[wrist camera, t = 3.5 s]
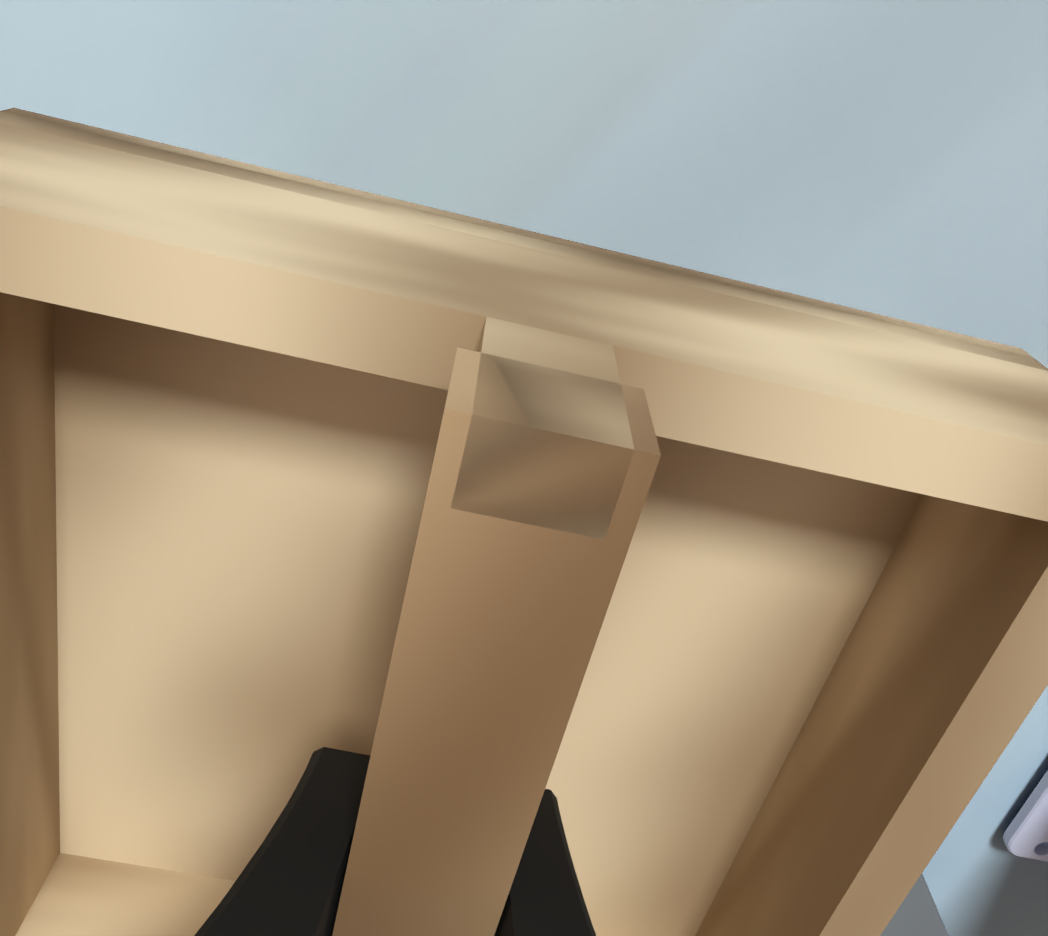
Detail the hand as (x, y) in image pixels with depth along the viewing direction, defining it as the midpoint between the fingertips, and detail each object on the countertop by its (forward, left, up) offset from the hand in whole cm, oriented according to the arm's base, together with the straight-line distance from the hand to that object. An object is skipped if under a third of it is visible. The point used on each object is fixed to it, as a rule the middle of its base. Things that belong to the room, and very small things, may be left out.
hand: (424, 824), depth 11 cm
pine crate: (0, 0, -4) cm, 4 cm away
